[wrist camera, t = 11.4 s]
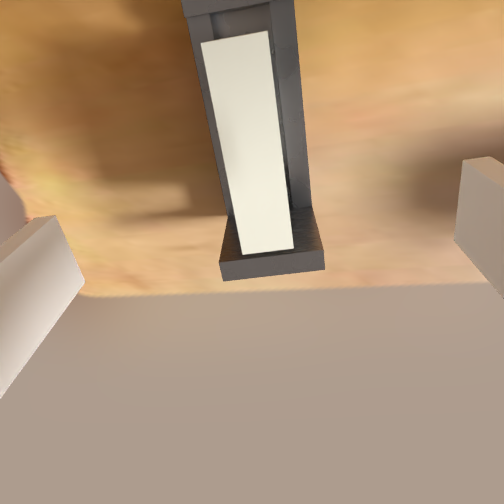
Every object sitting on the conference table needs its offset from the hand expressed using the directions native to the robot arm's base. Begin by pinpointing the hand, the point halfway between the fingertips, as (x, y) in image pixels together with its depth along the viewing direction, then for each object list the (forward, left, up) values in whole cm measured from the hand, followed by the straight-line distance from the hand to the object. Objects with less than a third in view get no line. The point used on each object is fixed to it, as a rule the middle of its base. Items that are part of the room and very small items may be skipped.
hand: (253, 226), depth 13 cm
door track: (0, 0, -21) cm, 21 cm away
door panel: (0, 0, -20) cm, 20 cm away
